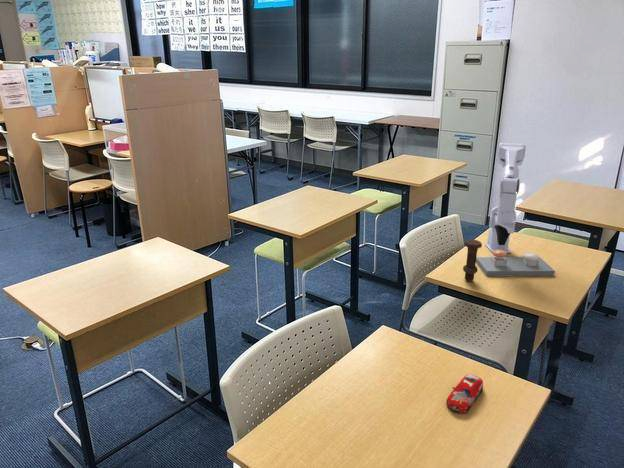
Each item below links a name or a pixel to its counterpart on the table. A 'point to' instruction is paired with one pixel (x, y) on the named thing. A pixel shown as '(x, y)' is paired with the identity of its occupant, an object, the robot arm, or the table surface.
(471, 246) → the bolt
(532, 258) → the grey plunger
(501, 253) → the terracotta plunger
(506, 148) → the robot arm
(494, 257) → the press plate
